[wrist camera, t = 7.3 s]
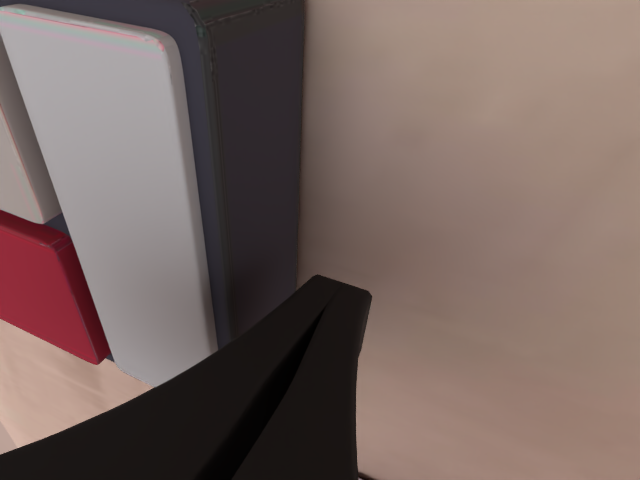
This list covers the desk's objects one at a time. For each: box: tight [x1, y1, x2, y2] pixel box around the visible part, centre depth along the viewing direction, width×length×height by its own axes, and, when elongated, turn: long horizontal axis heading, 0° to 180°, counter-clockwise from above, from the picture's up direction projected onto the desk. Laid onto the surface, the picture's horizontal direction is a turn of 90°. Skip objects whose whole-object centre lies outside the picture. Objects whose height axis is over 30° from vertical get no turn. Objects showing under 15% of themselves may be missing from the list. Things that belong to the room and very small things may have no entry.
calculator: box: [0, 0, 304, 387], centre depth 13 cm, size 11×4×15 cm
